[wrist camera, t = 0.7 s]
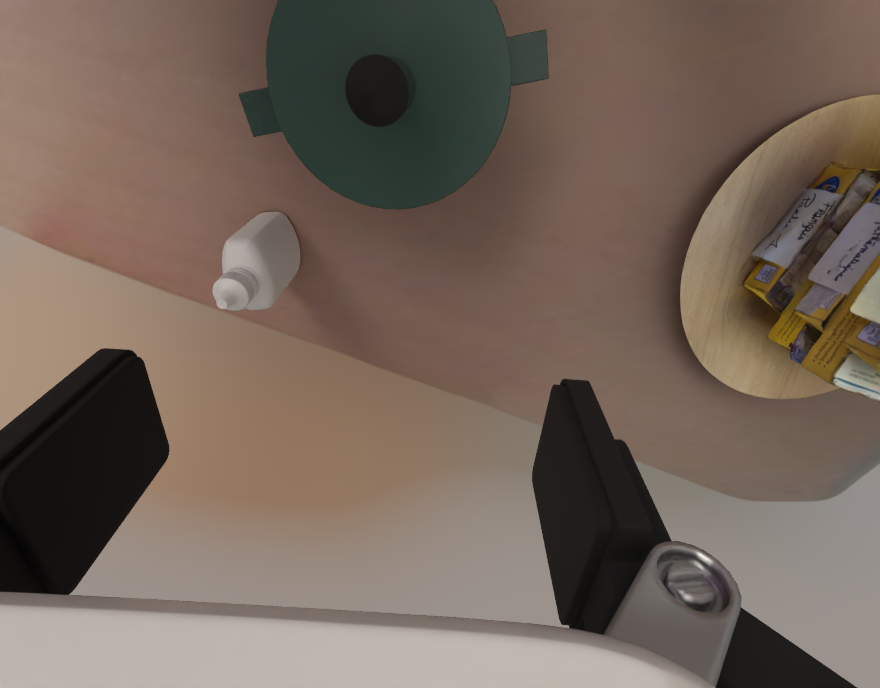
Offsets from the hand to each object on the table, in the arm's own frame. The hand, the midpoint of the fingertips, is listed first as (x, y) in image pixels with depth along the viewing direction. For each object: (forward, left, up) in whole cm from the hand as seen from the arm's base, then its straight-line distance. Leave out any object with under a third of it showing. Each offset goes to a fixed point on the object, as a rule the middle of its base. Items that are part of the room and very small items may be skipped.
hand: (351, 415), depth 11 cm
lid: (-6, 0, -22) cm, 23 cm away
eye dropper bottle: (+4, -13, -31) cm, 34 cm away
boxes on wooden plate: (+13, +32, -31) cm, 46 cm away
